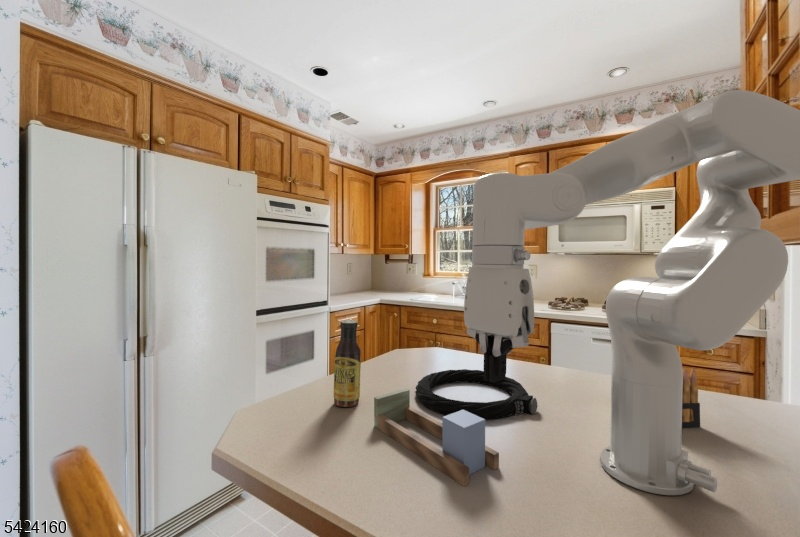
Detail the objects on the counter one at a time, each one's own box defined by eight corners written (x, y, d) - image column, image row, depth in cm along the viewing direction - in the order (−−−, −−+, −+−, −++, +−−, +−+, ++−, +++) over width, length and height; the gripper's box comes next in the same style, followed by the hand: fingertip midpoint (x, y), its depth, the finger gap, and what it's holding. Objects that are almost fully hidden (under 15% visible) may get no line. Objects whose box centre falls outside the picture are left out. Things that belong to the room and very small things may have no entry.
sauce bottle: (329, 407, 85) (328, 323, 85) (339, 397, 92) (339, 318, 91) (355, 410, 84) (355, 324, 83) (364, 399, 90) (364, 319, 89)
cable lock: (449, 362, 111) (552, 381, 93) (449, 374, 111) (552, 396, 93) (392, 387, 89) (514, 419, 71) (392, 403, 89) (513, 439, 71)
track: (498, 467, 61) (499, 431, 61) (463, 486, 56) (463, 447, 56) (406, 415, 81) (406, 388, 81) (374, 425, 76) (374, 397, 76)
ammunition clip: (692, 423, 77) (693, 366, 76) (700, 427, 75) (701, 369, 75) (644, 425, 76) (644, 367, 76) (650, 429, 74) (651, 370, 74)
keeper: (485, 466, 61) (485, 419, 61) (464, 477, 58) (464, 427, 58) (463, 453, 65) (463, 409, 65) (442, 463, 62) (442, 416, 62)
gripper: (557, 259, 51) (554, 389, 52) (476, 258, 63) (473, 364, 64) (526, 258, 47) (522, 401, 47) (444, 257, 59) (442, 371, 59)
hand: (494, 379), depth 55 cm, fingers closed
